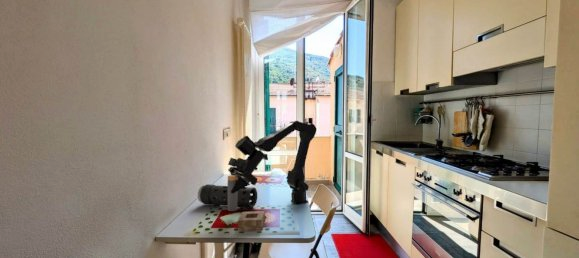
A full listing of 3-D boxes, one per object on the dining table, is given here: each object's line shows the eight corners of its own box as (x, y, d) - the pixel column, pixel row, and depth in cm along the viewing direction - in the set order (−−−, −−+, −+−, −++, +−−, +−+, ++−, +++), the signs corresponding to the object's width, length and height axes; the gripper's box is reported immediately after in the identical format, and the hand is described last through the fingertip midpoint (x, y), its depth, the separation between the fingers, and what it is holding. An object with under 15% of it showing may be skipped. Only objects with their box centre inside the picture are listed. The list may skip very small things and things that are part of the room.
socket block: (264, 220, 107) (264, 211, 106) (262, 230, 98) (261, 219, 97) (243, 221, 107) (242, 211, 107) (238, 231, 98) (237, 220, 98)
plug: (237, 207, 112) (237, 175, 112) (237, 210, 108) (237, 176, 108) (227, 208, 111) (227, 175, 111) (227, 211, 107) (227, 177, 107)
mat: (239, 213, 116) (239, 212, 116) (248, 219, 109) (248, 218, 109) (219, 218, 111) (219, 217, 111) (227, 225, 104) (227, 223, 104)
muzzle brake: (249, 212, 117) (248, 190, 117) (197, 208, 126) (195, 187, 125) (258, 205, 126) (257, 184, 126) (209, 201, 135) (208, 182, 135)
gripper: (231, 148, 119) (208, 176, 113) (248, 152, 103) (223, 185, 98) (248, 163, 123) (226, 191, 118) (267, 169, 108) (243, 201, 102)
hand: (229, 191), depth 109 cm, fingers closed on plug, 4 cm apart
